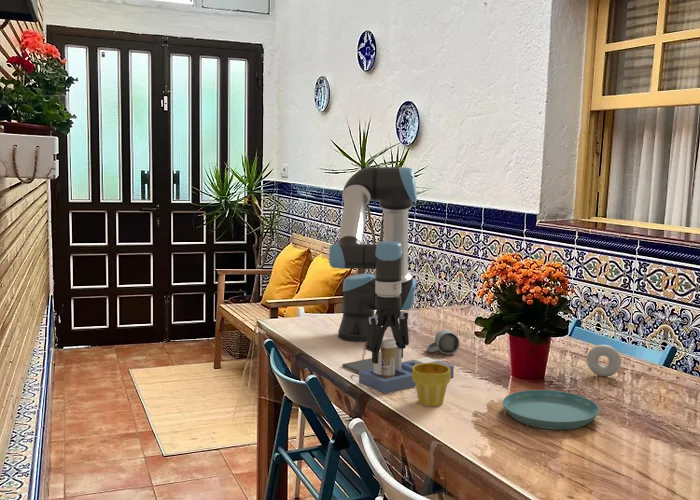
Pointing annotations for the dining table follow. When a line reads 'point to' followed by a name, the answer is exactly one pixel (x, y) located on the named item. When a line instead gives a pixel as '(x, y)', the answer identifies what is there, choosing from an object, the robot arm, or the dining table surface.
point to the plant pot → (431, 382)
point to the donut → (608, 352)
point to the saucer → (550, 409)
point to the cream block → (424, 360)
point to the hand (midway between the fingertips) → (387, 371)
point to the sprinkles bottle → (388, 358)
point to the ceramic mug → (445, 342)
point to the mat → (359, 365)
